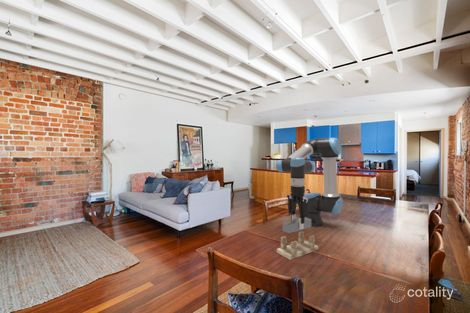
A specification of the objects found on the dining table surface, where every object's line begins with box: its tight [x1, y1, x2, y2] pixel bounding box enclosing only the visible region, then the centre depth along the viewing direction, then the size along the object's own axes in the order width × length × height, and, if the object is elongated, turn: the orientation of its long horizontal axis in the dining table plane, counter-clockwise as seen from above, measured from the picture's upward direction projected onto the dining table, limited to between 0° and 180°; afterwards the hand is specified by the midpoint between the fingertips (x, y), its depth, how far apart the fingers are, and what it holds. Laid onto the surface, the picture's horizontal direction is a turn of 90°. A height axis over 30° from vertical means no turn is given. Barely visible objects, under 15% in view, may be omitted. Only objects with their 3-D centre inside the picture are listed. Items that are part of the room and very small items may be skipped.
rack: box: [276, 230, 319, 261], centre depth 124 cm, size 22×10×8 cm, turn 122°
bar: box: [281, 217, 312, 234], centre depth 124 cm, size 18×4×4 cm, turn 123°
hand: (297, 227), depth 124 cm, fingers closed on bar, 4 cm apart
